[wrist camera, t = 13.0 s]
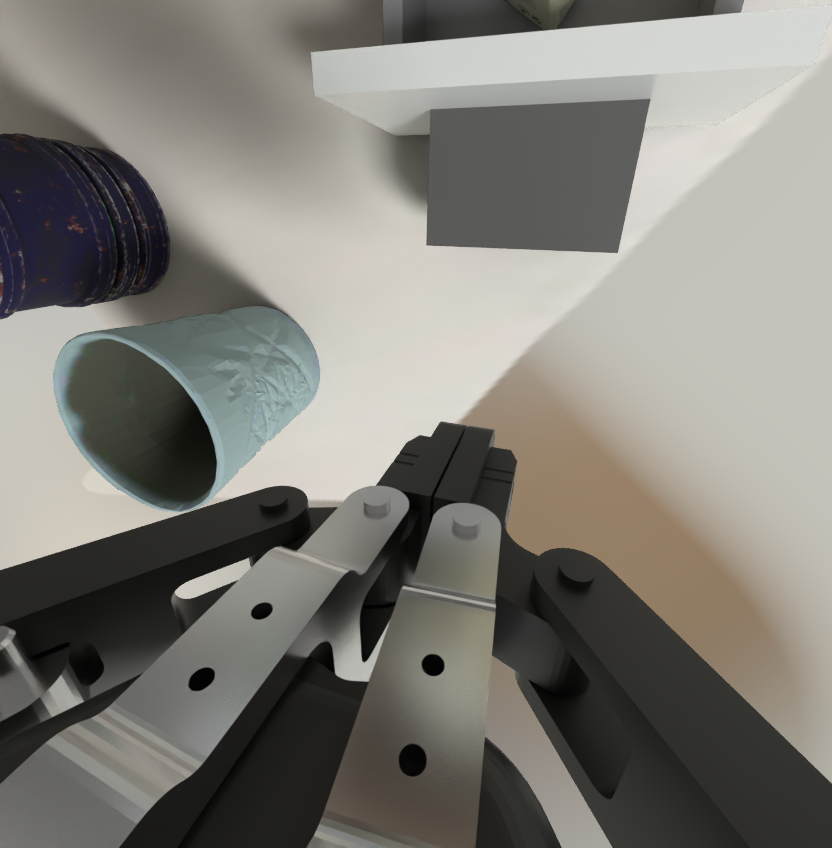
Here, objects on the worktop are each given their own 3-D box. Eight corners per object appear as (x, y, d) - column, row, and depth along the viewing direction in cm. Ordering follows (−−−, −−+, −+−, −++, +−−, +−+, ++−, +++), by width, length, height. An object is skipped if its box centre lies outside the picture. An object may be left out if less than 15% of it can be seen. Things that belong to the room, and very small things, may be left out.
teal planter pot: (194, 313, 32) (18, 358, 22) (300, 274, 28) (148, 306, 18) (251, 432, 35) (122, 520, 25) (353, 412, 31) (250, 506, 21)
